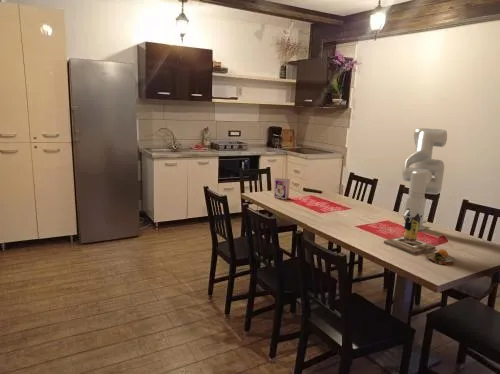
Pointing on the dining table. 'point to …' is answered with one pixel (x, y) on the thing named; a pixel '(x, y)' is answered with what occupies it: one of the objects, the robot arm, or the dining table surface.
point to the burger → (440, 257)
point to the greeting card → (281, 188)
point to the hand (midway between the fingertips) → (411, 228)
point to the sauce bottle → (412, 229)
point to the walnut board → (409, 245)
